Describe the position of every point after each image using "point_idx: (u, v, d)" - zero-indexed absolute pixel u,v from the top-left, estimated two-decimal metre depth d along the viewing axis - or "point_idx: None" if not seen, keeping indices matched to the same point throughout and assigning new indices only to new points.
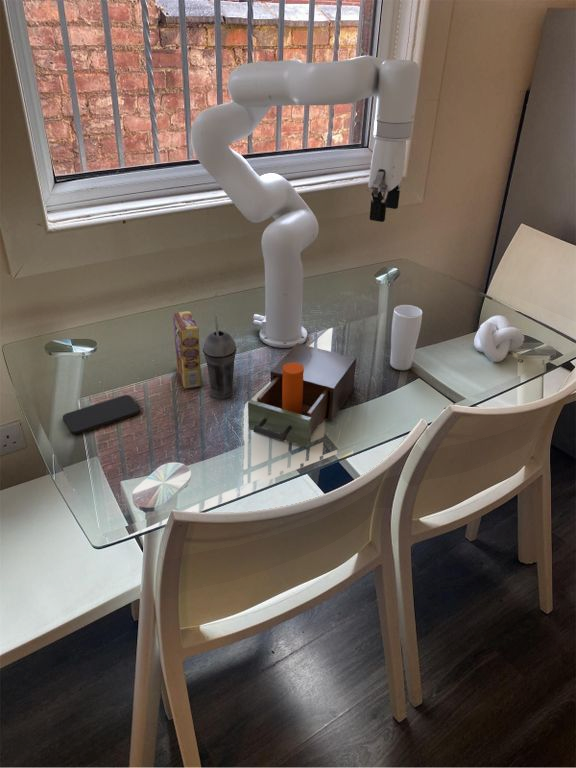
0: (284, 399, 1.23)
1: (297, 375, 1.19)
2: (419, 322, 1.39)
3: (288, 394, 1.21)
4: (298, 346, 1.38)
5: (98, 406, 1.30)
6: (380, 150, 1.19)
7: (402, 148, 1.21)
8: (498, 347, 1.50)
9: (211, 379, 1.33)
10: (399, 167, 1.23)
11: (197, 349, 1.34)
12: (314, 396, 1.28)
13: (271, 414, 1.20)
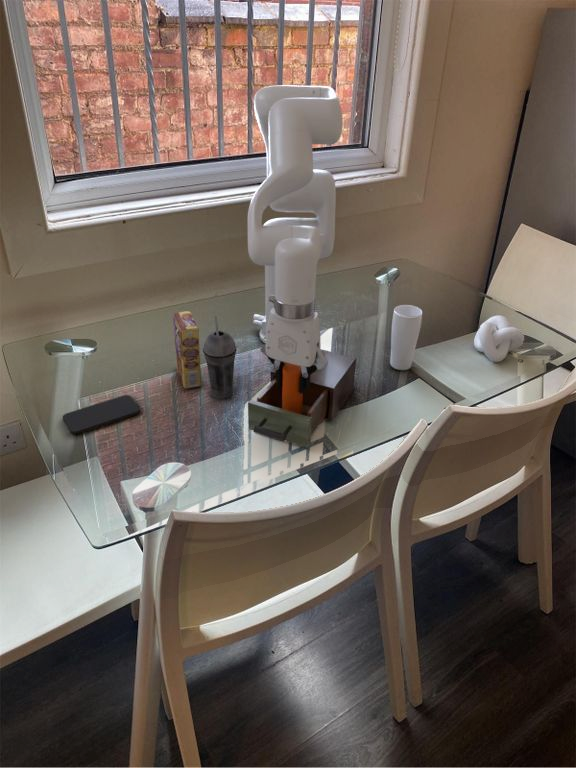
0: (284, 399, 1.23)
1: (297, 375, 1.19)
2: (419, 322, 1.39)
3: (288, 394, 1.21)
4: None
5: (98, 406, 1.30)
6: (315, 327, 1.12)
7: None
8: (498, 347, 1.50)
9: (211, 379, 1.33)
10: None
11: (197, 349, 1.34)
12: (314, 396, 1.28)
13: (271, 414, 1.20)
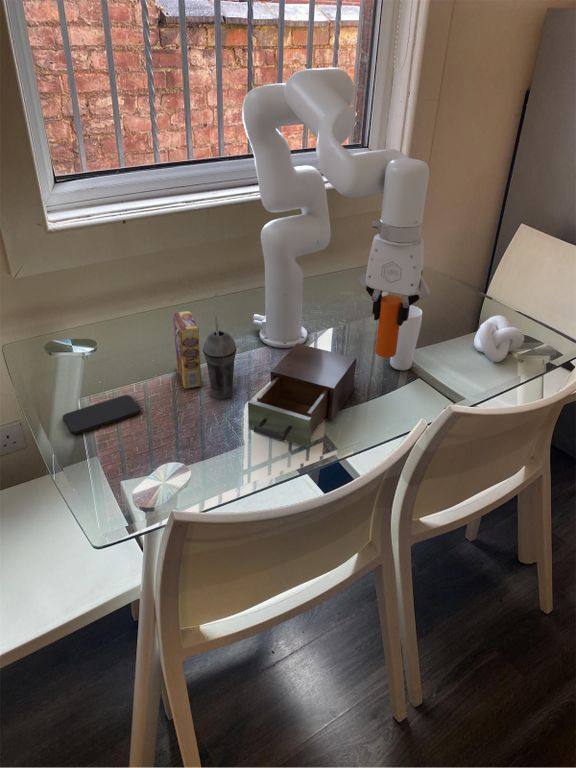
0: (381, 333, 1.20)
1: (397, 306, 1.16)
2: (419, 322, 1.39)
3: (386, 326, 1.19)
4: (298, 346, 1.38)
5: (98, 406, 1.30)
6: (422, 253, 1.10)
7: None
8: (498, 347, 1.50)
9: (211, 379, 1.33)
10: None
11: (197, 349, 1.34)
12: (314, 396, 1.28)
13: (271, 414, 1.20)
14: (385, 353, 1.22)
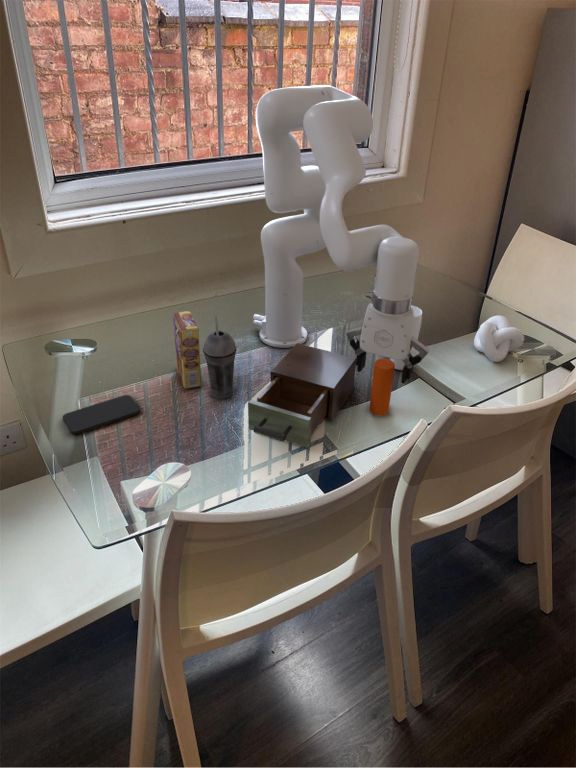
0: (374, 394, 1.29)
1: (389, 370, 1.25)
2: (419, 322, 1.39)
3: (379, 388, 1.27)
4: (298, 346, 1.38)
5: (98, 406, 1.30)
6: (412, 322, 1.18)
7: None
8: (498, 347, 1.50)
9: (211, 379, 1.33)
10: None
11: (197, 349, 1.34)
12: (314, 396, 1.28)
13: (271, 414, 1.20)
14: (378, 412, 1.30)
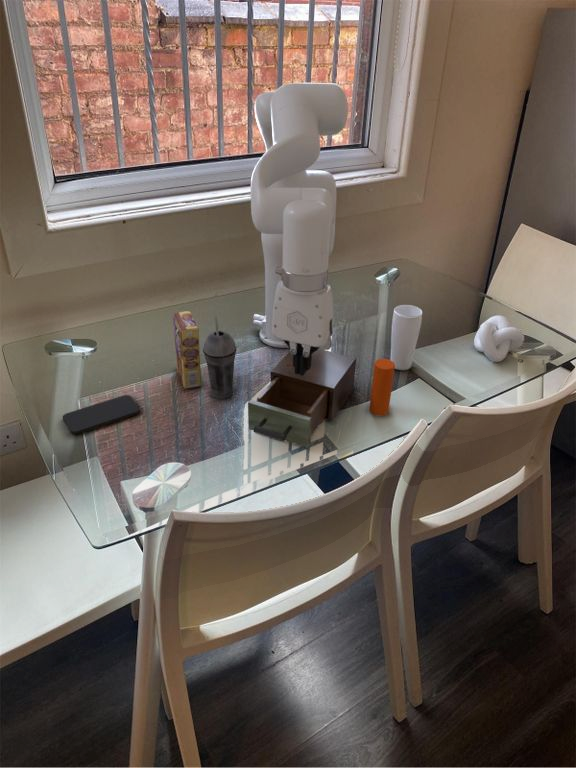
0: (374, 394, 1.29)
1: (389, 370, 1.25)
2: (419, 322, 1.39)
3: (379, 388, 1.27)
4: None
5: (98, 406, 1.30)
6: (329, 302, 1.00)
7: None
8: (498, 347, 1.50)
9: (211, 379, 1.33)
10: None
11: (197, 349, 1.34)
12: (314, 396, 1.28)
13: (271, 414, 1.20)
14: (378, 412, 1.30)
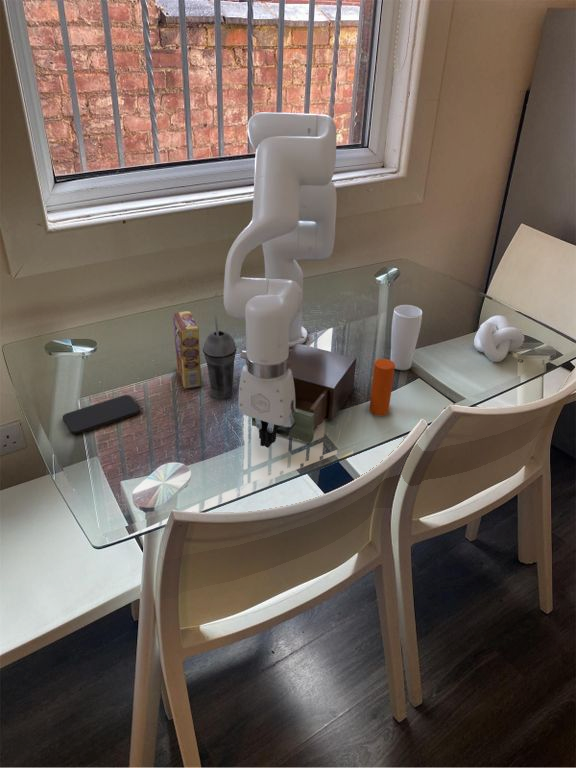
0: (374, 394, 1.29)
1: (389, 370, 1.25)
2: (419, 322, 1.39)
3: (379, 388, 1.27)
4: (298, 346, 1.38)
5: (98, 406, 1.30)
6: (289, 386, 1.07)
7: None
8: (498, 347, 1.50)
9: (211, 379, 1.33)
10: None
11: (197, 349, 1.34)
12: (317, 393, 1.29)
13: None
14: (378, 412, 1.30)
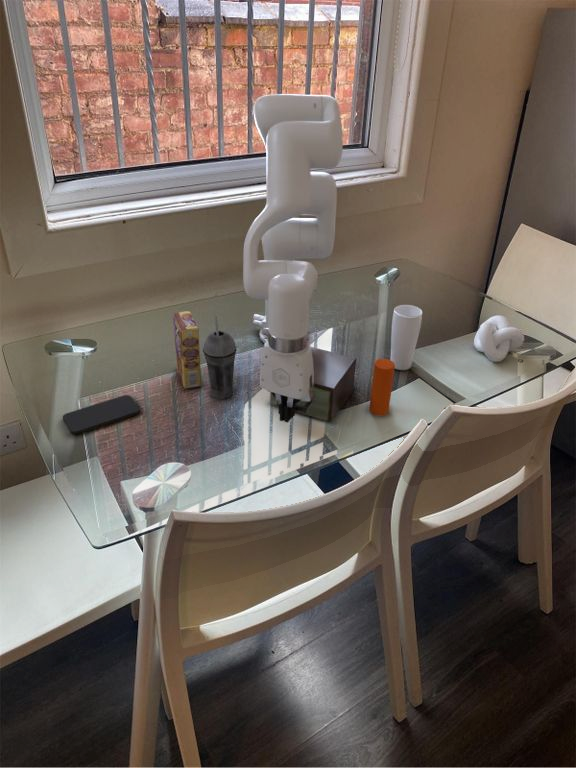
0: (374, 394, 1.29)
1: (389, 370, 1.25)
2: (419, 322, 1.39)
3: (379, 388, 1.27)
4: None
5: (98, 406, 1.30)
6: (308, 361, 1.14)
7: None
8: (498, 347, 1.50)
9: (211, 379, 1.33)
10: None
11: (197, 349, 1.34)
12: None
13: None
14: (378, 412, 1.30)
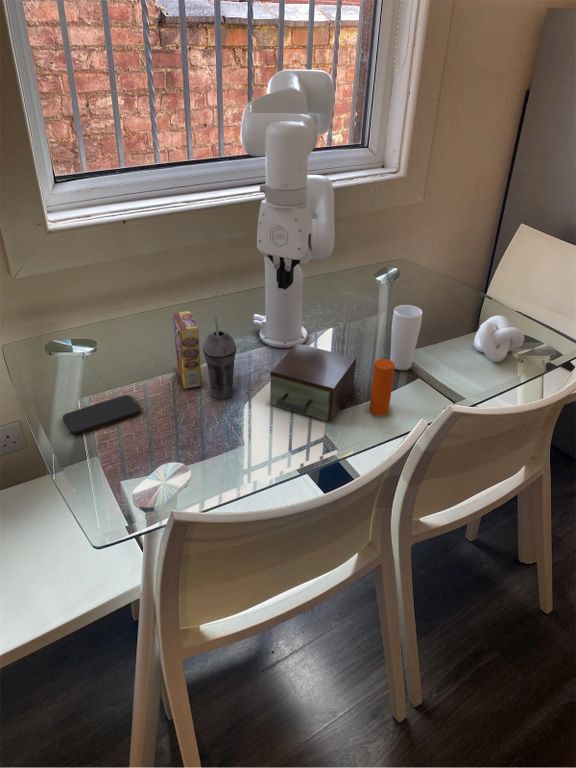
0: (374, 394, 1.29)
1: (389, 370, 1.25)
2: (419, 322, 1.39)
3: (379, 388, 1.27)
4: (298, 346, 1.38)
5: (98, 406, 1.30)
6: (307, 216, 1.10)
7: None
8: (498, 347, 1.50)
9: (211, 379, 1.33)
10: None
11: (197, 349, 1.34)
12: None
13: (292, 389, 1.27)
14: (378, 412, 1.30)
